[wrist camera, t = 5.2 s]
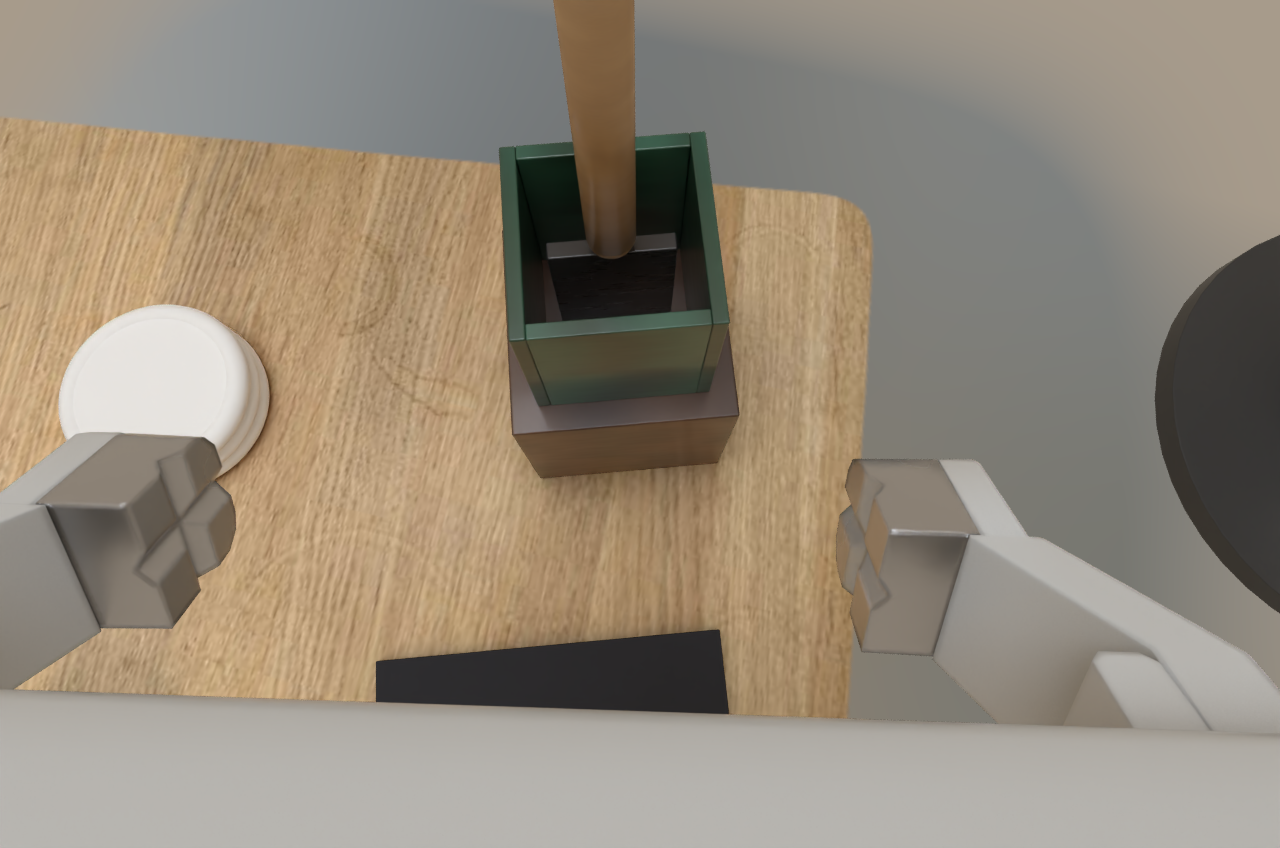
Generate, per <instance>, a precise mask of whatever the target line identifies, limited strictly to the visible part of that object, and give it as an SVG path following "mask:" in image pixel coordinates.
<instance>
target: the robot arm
mask: <svg viewBox="0 0 1280 848" xmlns="http://www.w3.org/2000/svg"><path fill="white" fill-rule="evenodd" d="M221 468H222V464H221V461H220V458H219V455H218V452H217V449H216V447H215V444H213V443H212V442H210V441H209V440H208V439H206V438H205V437H194V436H175V435H155V434H136V433H127V434H125V433H122V432H86V433H78V434H75V435H74V436H73V437H71V438H70V439H69V440H67V441H66V442H65V443H64V444H62V445H61V446H60V447H58V448H57V449H56V450H54V451H53V452H52V453H51V454H49V455H48V456H47V457H45V458H44V459H43V460H42V461H40V462H39V463H38V464H36V465H35V466H34V467H33V468H31V469H30V470H29V471H27V472H26V473H25V474H24V475H22V476H21V477H20V478H18V479H17V480H16V481H14V482H13V483H12V484H11V485H9V486H8V487H7V488H5V489H4V490H3V491H2V492H0V848H1280V690H1279V688H1277V686H1276V685H1275V684H1274V683H1273V681H1272V680H1271V679H1270V678H1269V677H1268V676H1267V675H1266V673H1265V672H1264V671H1263V670H1262V669H1261V668H1260V666H1259V665H1258V664H1257V663H1256V662H1255V661H1254V659H1253V658H1252V657H1251V656H1250V655H1249V654H1248V653H1246V652H1244V651H1243V650H1241V649H1239V648H1237V647H1236V646H1234V645H1232V644H1230V643H1228V642H1226V641H1225V640H1223V639H1221V638H1220V637H1217V636H1216V635H1214V634H1212V633H1211V632H1209V631H1207V630H1205V629H1204V628H1202V627H1200V626H1198V625H1196V624H1195V623H1193V622H1191V621H1189V620H1187V619H1186V618H1184V617H1182V616H1180V615H1179V614H1177V613H1175V612H1173V611H1172V610H1170V609H1168V608H1166V607H1165V606H1163V605H1161V604H1159V603H1157V602H1156V601H1154V600H1152V599H1150V598H1148V597H1147V596H1145V595H1143V594H1141V593H1140V592H1138V591H1136V590H1134V589H1133V588H1131V587H1129V586H1127V585H1125V584H1124V583H1122V582H1120V581H1118V580H1117V579H1115V578H1113V577H1111V576H1110V575H1108V574H1106V573H1104V572H1102V571H1101V570H1099V569H1097V568H1095V567H1094V566H1092V565H1090V564H1088V563H1086V562H1085V561H1083V560H1081V559H1079V558H1078V557H1076V556H1074V555H1072V554H1070V553H1069V552H1067V551H1065V550H1063V549H1062V548H1060V547H1058V546H1056V545H1054V544H1053V543H1051V542H1049V541H1047V540H1046V539H1044V538H1042V537H1029V536H1028V535H1027V533H1026V532H1025V530H1024V529H1023V527H1022V526H1021V524H1020V523H1019V521H1018V520H1017V518H1016V517H1015V515H1014V514H1013V512H1012V511H1011V509H1010V508H1009V506H1008V505H1007V503H1006V502H1005V500H1004V499H1003V497H1002V496H1001V494H1000V492H999V491H998V490H997V488H996V487H995V485H994V483H993V482H992V480H991V479H990V477H989V476H988V475H987V473H986V471H985V470H984V469H983V467H982V465H981V464H980V463H979V462H977V461H975V460H973V459H929V460H927V459H923V460H922V459H853V460H852V462H851V465H850V467H849V470H848V474H847V479H846V484H845V488H846V491H847V494H848V497H849V500H850V503H851V505H850V506H849V507H848V508H847V509H846V510H845V511H844V512H842V513H841V514H840V516H839V522H838V528H837V535H836V562H837V569H838V574H839V578H840V581H841V585H842V587H843V588H844V589H845V590H847V591H848V592H849V593H850V594H852V595H853V597H852V602H851V607H850V616H851V619H852V622H853V625H854V629H855V632H856V635H857V638H858V642H859V645H860V648H861V651H862V652H870V653H885V654H902V655H920V656H933V661H934V662H935V663H937V665H939V666H940V667H941V668H942V669H943V670H944V671H945V672H946V673H947V674H948V675H949V676H950V677H951V678H952V679H953V680H954V681H955V682H956V683H957V684H958V685H959V686H960V687H961V688H962V689H963V690H964V691H965V692H966V693H967V694H968V695H969V696H970V697H972V698H973V700H974V701H975V702H976V703H977V704H978V705H980V706H981V707H982V708H983V709H984V710H985V711H986V712H987V713H988V714H989V715H990V716H991V717H992V718H993V719H994V720H995V721H996V722H997V723H998V724H996V723H995V724H994V723H967V722H966V723H965V722H936V721H905V720H876V719H848V718H819V717H791V716H762V715H734V714H705V713H677V712H648V711H620V710H591V709H563V708H534V707H503V706H473V705H442V704H413V703H385V702H356V701H328V700H299V699H271V698H242V697H214V696H185V695H157V694H128V693H100V692H71V691H42V690H14V689H15V688H16V687H18V686H19V685H21V684H22V683H24V682H25V681H27V680H28V679H30V678H31V677H33V676H34V675H36V674H37V673H39V672H40V671H42V670H43V669H45V668H46V667H48V666H50V665H51V664H53V663H54V662H56V661H57V660H59V659H60V658H62V657H63V656H65V655H66V654H68V653H69V652H71V651H72V650H74V649H75V648H77V647H78V646H80V645H81V644H83V643H84V642H86V641H87V640H89V639H90V638H92V637H93V636H95V635H96V634H98V633H99V632H101V629H100V628H163V629H172V628H173V627H174V625H175V624H176V623H177V621H178V620H179V619H180V617H181V616H182V615H183V613H184V612H185V611H186V609H187V608H188V607H189V605H190V604H191V603H192V601H193V600H194V599H195V597H196V596H197V595H198V593H199V592H200V591H201V589H200V585H199V581H198V577H200V576H202V575H204V574H205V573H207V572H209V571H211V570H213V569H215V568H216V567H218V566H219V565H220V564H221V562H222V561H223V560H224V558H225V557H226V555H227V554H228V552H229V551H230V549H231V545H232V542H233V538H234V535H235V531H236V514H235V508H234V505H233V501H232V497H231V495H230V494H229V493H228V492H227V491H226V490H225V489H223V488H222V487H221V486H220V485H219V484H218V483H217V482H216V481H215V479H216V477H217V476H218V474H219V472H220V470H221Z"/></svg>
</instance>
